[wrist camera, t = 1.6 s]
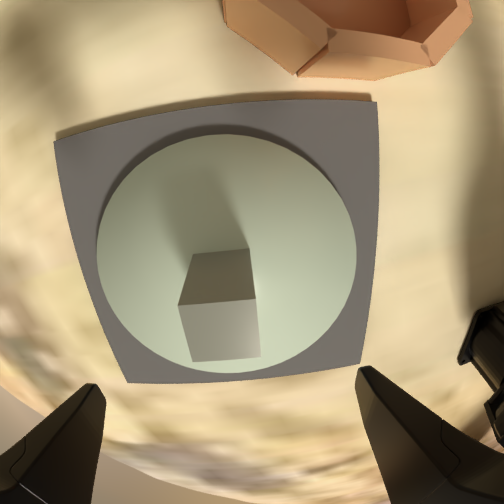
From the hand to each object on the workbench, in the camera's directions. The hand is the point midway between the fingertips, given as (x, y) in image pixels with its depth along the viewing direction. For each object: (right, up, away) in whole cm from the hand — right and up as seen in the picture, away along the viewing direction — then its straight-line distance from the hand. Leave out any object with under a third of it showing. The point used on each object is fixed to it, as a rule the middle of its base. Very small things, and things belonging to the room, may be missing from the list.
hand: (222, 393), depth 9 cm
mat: (-1, +4, +8) cm, 9 cm away
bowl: (+5, +19, +2) cm, 20 cm away
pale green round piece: (-1, +3, +8) cm, 9 cm away
